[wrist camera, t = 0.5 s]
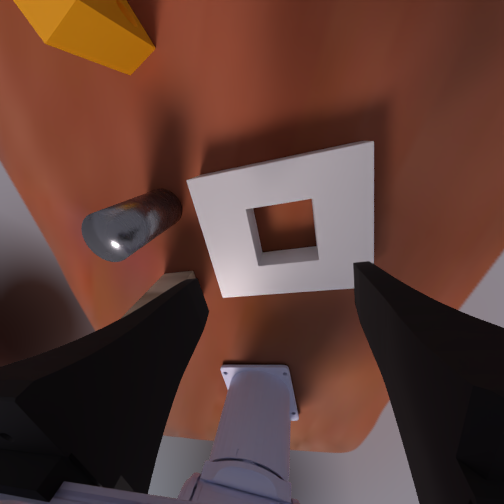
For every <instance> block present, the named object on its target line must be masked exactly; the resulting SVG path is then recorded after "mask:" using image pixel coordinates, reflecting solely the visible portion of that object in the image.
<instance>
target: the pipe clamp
mask: <svg viewBox="0 0 504 504" xmlns="http://www.w3.org/2000/svg"><path fill="white" fill-rule="evenodd" d="M13 1H14V2H15V3H16V5H17V6H18V7H19V9H20V10H21V12H22V13H23V14H24V16H25V17H26V18H27V20H28V21H29V22H30V24H31V25H32V26H33V28H34V29H35V31H36V32H37V33H38V35H39V36H40V37H41V39H42V40H43V41H44V43H45V44H47V45H50V46H53V47H55V48H58V49H61V50H63V51H66V52H69V53H71V54H74V55H77V56H80V57H82V58H85V59H88V60H90V61H93V62H96V63H98V64H101V65H104V66H107V67H109V68H112V69H115V70H117V71H120V72H123V73H125V74H128V75H131V74H132V73H133V72H134V71H135V70H136V69H137V68H138V67H139V66H140V65H141V64H142V63H143V62H144V60H145V59H146V58H147V57H148V56H149V55H150V54H151V53H152V52H153V51H154V50H155V49H156V48H155V46H154V44H153V43H152V41H151V40H150V38H149V36H148V35H147V33H146V31H145V30H144V28H143V26H142V25H141V23H140V22H139V20H138V18H137V17H136V15H135V13H134V12H133V10H132V8H131V7H130V5H129V4H128V2H127V0H13Z"/></svg>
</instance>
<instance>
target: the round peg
mask: <svg viewBox="0 0 504 504" xmlns="http://www.w3.org/2000/svg"><path fill="white" fill-rule="evenodd" d="M181 215H182V207H181V204H180V201H179V200H178V198H177V197H176V196H175V195H174V194H173V193H172V192H170V191H168V190H165V189H157V190H154V191H151V192H148V193H146V194H143V195H140V196H137V197H135V198H132V199H129V200H127V201H124V202H121V203H119V204H116V205H113V206H110V207H108V208H105V209H102V210H100V211H97V212H94V213H92V214H89V215H88V216H86V218H85V219H84V220H83V223H82V235H83V238H84V240H85V242H86V244H87V245H88V247H89V248H90V249H91V250H92V251H93V252H94V253H95V254H96V255H97V256H99V257H101V258H102V259H105V260H107V261H111V262H119V261H122V260H124V259H126V258H127V257H129V256H130V255H131V254H133V253H134V252H136V251H137V250H138V249H140V248H141V247H143V246H144V245H146V244H147V243H148V242H150V241H151V240H153V239H154V238H155V237H157V236H158V235H160V234H161V233H163V232H164V231H165V230H167V229H168V228H170V227H171V226H172V225H174V224H175V223H177V222H178V221H179V219H180V218H181Z"/></svg>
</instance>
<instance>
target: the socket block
mask: <svg viewBox="0 0 504 504" xmlns="http://www.w3.org/2000/svg"><path fill="white" fill-rule="evenodd" d="M186 181H187V184H188V187H189V190H190V194H191V197H192V200H193V203H194V207H195V210H196V213H197V216H198V219H199V223H200V226H201V229H202V232H203V235H204V239H205V242H206V245H207V248H208V252H209V255H210V258H211V261H212V264H213V268H214V271H215V274H216V277H217V280H218V284H219V287H220V290H221V293H222V297H223V298H225V297H239V296H253V295H267V294H281V293H295V292H309V291H323V290H338V289H352V288H354V270H353V263H356V262H366V261H370V262H371V263H373V264H374V141H359V142H354V143H349V144H345V145H340V146H335V147H330V148H326V149H321V150H316V151H311V152H307V153H302V154H297V155H293V156H288V157H283V158H278V159H274V160H269V161H264V162H259V163H255V164H250V165H245V166H240V167H236V168H231V169H226V170H222V171H217V172H212V173H207V174H203V175H199V176H196V177H194V178H191V179H188V180H186ZM306 199H312V208H313V217H314V226H315V236H316V245H317V246H313V247H305V248H296V249H288V250H279V251H270V252H262V248H261V243H260V238H259V233H258V229H257V224H256V219H255V214H254V210H253V208H257V207H263V206H270V205H276V204H282V203H288V202H294V201H300V200H306Z"/></svg>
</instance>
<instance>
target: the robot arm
mask: <svg viewBox="0 0 504 504" xmlns="http://www.w3.org/2000/svg"><path fill="white" fill-rule="evenodd" d="M353 270H354V293H355V305H356V309H357V312H358V316H359V320H360V323H361V326H362V328H363V331H364V333H365V336H366V338H367V340H368V343H369V345H370V348H371V350H372V352H373V355H374V357H375V360H376V362H377V364H378V367H379V369H380V372H381V374H382V377H383V380H384V382H385V385H386V388H387V392H388V395H389V398H390V401H391V405H392V408H393V411H394V415H395V418H396V421H397V425H398V428H399V432H400V435H401V438H402V442H403V445H404V449H405V453H406V456H407V460H408V463H409V467H410V470H411V474H412V478H413V481H414V484H415V488H416V492H417V496H418V500H419V503H420V504H504V328H502V327H500V326H497V325H494V324H491V323H489V322H486V321H483V320H480V319H478V318H475V317H473V316H470V315H468V314H465V313H463V312H460V311H458V310H456V309H454V308H451V307H449V306H447V305H445V304H442V303H440V302H438V301H436V300H434V299H432V298H430V297H428V296H426V295H424V294H422V293H420V292H419V291H417V290H415V289H413V288H411V287H409V286H408V285H406V284H404V283H403V282H401V281H399V280H398V279H396V278H394V277H393V276H391V275H390V274H388V273H387V272H385V271H384V270H382V269H380V268H379V267H377V266H376V265H374V264H373V263H371V262H370V261H366V262H356V263H353ZM208 313H209V310H208V307H207V304H206V301H205V298H204V296H203V293H202V290H201V287H200V284H199V281H198V279H197V278H195V279H186V280H184V281H182V282H180V283H178V284H177V285H175V286H173V287H172V288H170V289H168V290H167V291H165V292H164V293H162V294H161V295H159V296H158V297H156V298H154V299H153V300H151V301H150V302H148V303H147V304H145V305H143V306H142V307H140V308H138V309H137V310H135V311H133V312H132V313H130V314H128V315H127V316H125V317H123V318H121V319H119V320H118V321H116V322H114V323H112V324H110V325H108V326H106V327H104V328H102V329H100V330H98V331H95V332H93V333H91V334H89V335H86V336H84V337H82V338H80V339H78V340H76V341H73V342H70V343H68V344H65V345H63V346H60V347H58V348H55V349H52V350H50V351H47V352H45V353H42V354H39V355H36V356H33V357H30V358H27V359H24V360H21V361H18V362H14V363H11V364H8V365H5V366H2V367H0V504H300V503H299V501H298V500H297V499H292V498H291V483H290V482H288V479H289V463H290V423H291V420H292V421H297V420H298V419H299V415H298V410H297V405H296V400H295V395H294V390H293V386H292V381H291V376H290V371H289V367H288V366H286V365H222V366H221V372H222V375H223V378H224V380H225V383H226V386H227V389H228V393H227V396H226V400H225V404H224V407H223V411H222V415H221V418H220V422H219V426H218V429H217V433H216V437H215V440H214V444H213V448H212V451H211V455H210V459H209V461H205V462H204V466H203V469H202V473H201V474H199V473H194V474H193V475H192V476H191V477H190V478H189V479H188V480H187V481H186V482H185V483H184V485H183V487H182V489H181V491H180V494H179V496H178V498H177V499H175V498H168V497H162V496H156V495H149V494H148V490H149V486H150V482H151V477H152V474H153V470H154V466H155V461H156V457H157V454H158V450H159V447H160V443H161V439H162V436H163V432H164V429H165V426H166V422H167V419H168V416H169V413H170V410H171V407H172V403H173V401H174V398H175V395H176V392H177V389H178V386H179V383H180V381H181V378H182V376H183V374H184V371H185V369H186V367H187V365H188V363H189V360H190V358H191V356H192V354H193V352H194V350H195V348H196V346H197V343H198V341H199V339H200V337H201V335H202V332H203V330H204V327H205V324H206V321H207V317H208Z"/></svg>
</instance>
